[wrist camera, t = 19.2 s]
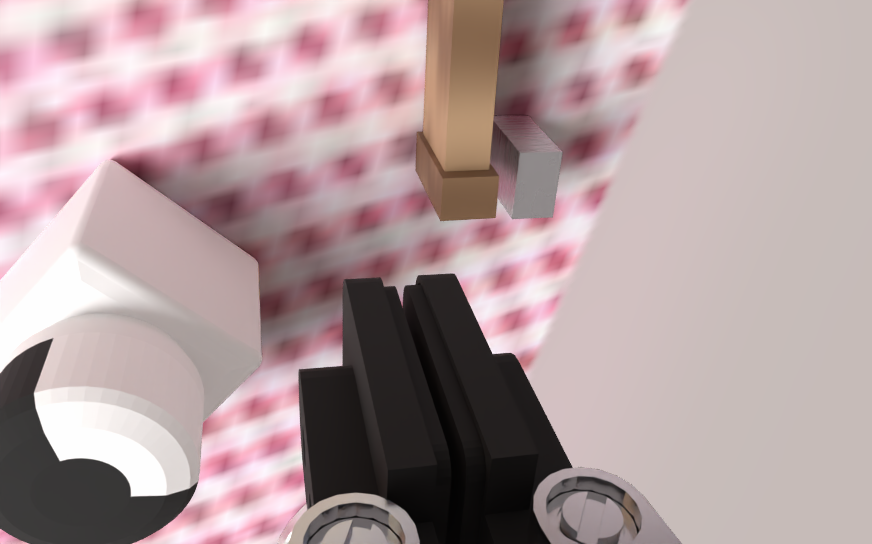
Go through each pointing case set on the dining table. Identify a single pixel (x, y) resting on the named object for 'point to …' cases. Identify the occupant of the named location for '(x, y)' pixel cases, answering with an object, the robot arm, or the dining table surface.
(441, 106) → the tan wooden plank
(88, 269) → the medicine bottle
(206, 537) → the dining table surface
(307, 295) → the dining table surface
